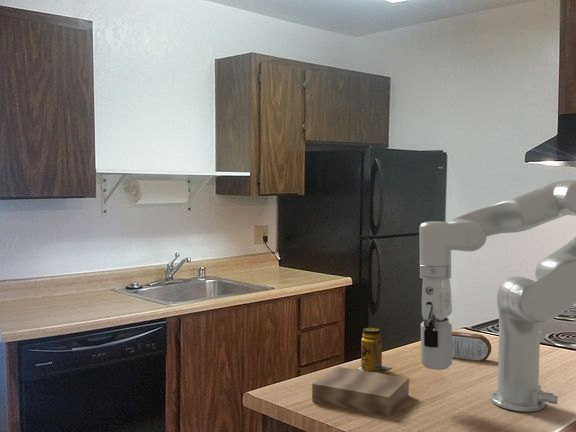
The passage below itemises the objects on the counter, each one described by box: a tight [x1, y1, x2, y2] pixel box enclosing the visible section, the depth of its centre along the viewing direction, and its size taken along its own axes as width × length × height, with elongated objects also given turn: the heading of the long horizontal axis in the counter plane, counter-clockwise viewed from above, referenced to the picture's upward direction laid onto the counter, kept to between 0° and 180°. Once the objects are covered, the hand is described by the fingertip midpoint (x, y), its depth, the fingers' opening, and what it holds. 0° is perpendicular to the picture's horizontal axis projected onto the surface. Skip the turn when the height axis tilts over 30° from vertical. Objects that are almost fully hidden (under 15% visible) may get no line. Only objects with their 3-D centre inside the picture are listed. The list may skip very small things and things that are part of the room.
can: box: [420, 316, 453, 371], centre depth 148 cm, size 8×8×12 cm
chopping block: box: [311, 366, 410, 417], centre depth 153 cm, size 20×16×5 cm
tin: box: [452, 331, 492, 362], centre depth 188 cm, size 15×3×8 cm, turn 65°
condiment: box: [355, 327, 392, 373], centre depth 178 cm, size 7×8×12 cm
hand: (436, 342), depth 148 cm, fingers closed on can, 7 cm apart
